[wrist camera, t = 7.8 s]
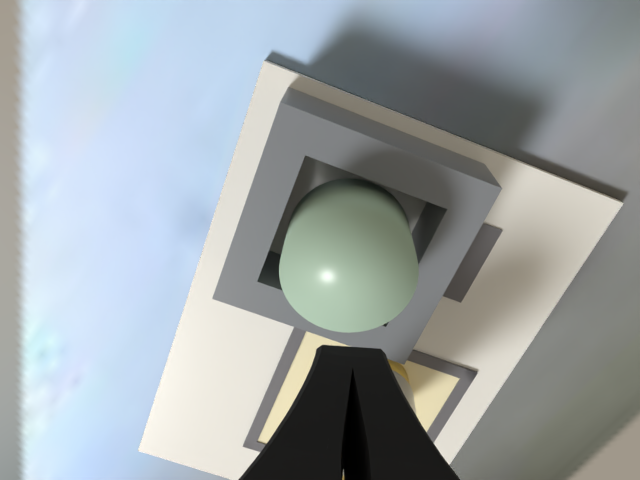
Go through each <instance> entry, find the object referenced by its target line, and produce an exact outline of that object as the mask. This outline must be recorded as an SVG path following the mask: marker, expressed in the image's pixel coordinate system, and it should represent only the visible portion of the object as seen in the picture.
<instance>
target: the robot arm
mask: <svg viewBox="0 0 640 480" xmlns="http://www.w3.org/2000/svg"><path fill="white" fill-rule="evenodd" d="M343 469H344V480H460V479H459V478H458V476H457V475H456V474H455V472H454V471H453V470H452V469H451V467H450V466H449V464H448V463H447V462H446V460H445V459H444V458H443V456H442V455H441V453H440V452H439V450H438V449H437V447H436V446H435V444H434V443H433V442H432V440H431V439H430V437H429V436H428V434H427V432H426V431H425V429H424V428H423V426H422V425H421V423H420V421H419V419H418V418H417V416H416V414H415V413H414V411H413V409H412V408H411V406H410V404H409V402H408V401H407V399H406V397H405V395H404V393H403V391H402V389H401V387H400V386H399V384H398V382H397V380H396V377H395V375H394V373H393V371H392V369H391V367H390V364H389V362H388V359H387V356H386V354H385V353H384V352H383V350H382V349H378V348H363V347H349V346H334V345H321V346H320V347H318V348H317V349H316V353H315V357H314V360H313V363H312V366H311V368H310V370H309V373H308V375H307V377H306V379H305V381H304V383H303V385H302V387H301V389H300V391H299V393H298V395H297V396H296V398H295V400H294V402H293V404H292V405H291V407H290V409H289V411H288V412H287V414H286V415H285V417H284V419H283V420H282V422H281V423H280V425H279V426H278V428H277V429H276V431H275V432H274V434H273V435H272V437H271V438H270V440H269V441H268V443H267V444H266V445H265V447H264V448H263V449H262V451H261V452H260V453H259V455H258V456H257V457H256V459H255V460H254V461H253V462H252V464H251V465H250V466H249V467H248V469H247V470H246V471H245V472H244V474H243V475H242V476H241V477H240V478H239V479H238V480H342V477H343Z"/></svg>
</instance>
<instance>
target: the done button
mask: <svg viewBox="0 0 640 480" xmlns="http://www.w3.org/2000/svg"><path fill="white" fill-rule="evenodd" d="M418 276H419V266H418V260H417V255H416V251H415V247H414V243H413V238H412V234H411V230H410V226H409V222H408V219H407V216H406V213H405V211H404V209H403V207H402V206H401V204H400V203H399V201H398V200H397V199H396V198H395V197H394V196H393V195H392V194H391V193H389V192H388V191H387V190H386V189H384V188H382V187H381V186H379V185H377V184H374V183H372V182H369V181H366V180H361V179H351V178H346V179H337V180H332V181H329V182H326V183H323V184H321V185H319V186H317V187H315V188H314V189H312V190H311V191H309V192H308V193H307V194H306V195H305V196H304V197H303V198H302V199H301V200H300V201H299V203H298V204H297V206H296V207H295V209H294V211H293V213H292V215H291V218H290V221H289V225H288V229H287V233H286V237H285V241H284V246H283V250H282V254H281V258H280V264H279V278H280V284H281V287H282V290H283V292H284V295H285V297H286V299H287V300H288V302H289V303H290V305H291V306H292V307H293V308H294V309H295V311H296V312H298V313H299V314H300V315H301V316H302V317H303V318H305V319H306V320H308V321H309V322H311V323H313V324H315V325H317V326H319V327H322V328H324V329H328V330H331V331H337V332H347V333H351V332H362V331H367V330H371V329H374V328H377V327H379V326H382V325H384V324H385V323H387V322H389V321H391V320H392V319H393V318H395V317H396V316H397V315H398V314H400V313H401V312H402V311H403V310H404V308H405V307H406V306H407V305H408V303H409V302H410V300H411V299H412V297H413V295H414V292H415V290H416V286H417V283H418Z"/></svg>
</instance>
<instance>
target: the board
mask: <svg viewBox="0 0 640 480" xmlns="http://www.w3.org/2000/svg"><path fill="white" fill-rule="evenodd" d="M288 87H290V88H293V89H295V90H298V91H301V92H303V93H306V94H308V95H311V96H313V97H316V98H318V99H321V100H323V101H326V102H328V103H331V104H334V105H336V106H339V107H341V108H344V109H346V110H349V111H351V112H354V113H356V114H359V115H362V116H364V117H367V118H369V119H372V120H374V121H377V122H379V123H382V124H384V125H387V126H390V127H392V128H395V129H397V130H400V131H402V132H405V133H407V134H410V135H412V136H415V137H418V138H420V139H423V140H425V141H428V142H430V143H433V144H435V145H438V146H440V147H443V148H446V149H448V150H451V151H453V152H456V153H458V154H461V155H463V156H466V157H468V158H471V159H474V160H476V161H479V162H481V163H484V164H485V165H486V166H487V168H488V169H489V171H490V172H491V173H492V175H493V176H494V178H495V179H496V180H497V182H498V183H499V185H500V186H501V187H502V190H501V192H500V193H499V195H498V197H497V199H496V201H495V202H494V204H493V206H492V208H491V210H490V211H489V213H488V215H487V217H486V219H485V220H484V222H483V224H482V226H481V228H480V229H479V231H478V233H477V235H476V237H475V238H474V240H473V242H472V244H471V246H470V247H469V249H468V251H467V253H466V255H465V256H464V258H463V260H462V262H461V264H460V265H459V267H458V269H457V271H456V273H455V274H454V276H453V278H452V280H451V282H450V283H449V285H448V287H447V289H446V291H445V292H444V294H443V296H442V298H441V300H440V301H439V303H438V305H437V307H436V309H435V310H434V312H433V314H432V316H431V318H430V319H429V321H428V323H427V325H426V327H425V328H424V330H423V332H422V334H421V336H420V337H419V339H418V341H417V343H416V345H415V346H414V348H413V350H412V352H411V354H410V355H409V357H408V359H407V361H406V363H405V364H404V365H403V364H401V365H402V366H403V367H404V369H405V370H406V372H407V375H408V378H409V385H410V386H411V388H412V391H413V395H414V401H415V408H416V415H417V418H418V419H419V421H420V423H421V425H422V426H423V428H424V429H425V431H426V432H427V434H428V436H429V437H430V439H431V440H432V442H433V443H434V444H435V446H436V447H437V449H438V450H439V452H440V453H441V455H442V456H443V458H444V459H445V460H446V462H447V463H448V464H449V465H450V463H451V462H452V460H453V459H454V457H455V456H456V454H457V453H458V451H459V450H460V448H461V447H462V445H463V444H464V442H465V441H466V439H467V438H468V436H469V435H470V433H471V432H472V430H473V429H474V427H475V426H476V424H477V423H478V421H479V420H480V418H481V417H482V415H483V414H484V412H485V411H486V409H487V408H488V406H489V405H490V403H491V402H492V400H493V399H494V397H495V396H496V394H497V393H498V391H499V390H500V388H501V387H502V385H503V384H504V382H505V381H506V379H507V378H508V376H509V375H510V373H511V372H512V370H513V369H514V367H515V366H516V364H517V363H518V361H519V360H520V358H521V357H522V355H523V354H524V352H525V351H526V349H527V348H528V346H529V345H530V343H531V342H532V340H533V339H534V337H535V336H536V334H537V333H538V331H539V330H540V328H541V327H542V325H543V324H544V322H545V321H546V319H547V318H548V316H549V315H550V313H551V312H552V310H553V309H554V307H555V306H556V304H557V303H558V301H559V300H560V298H561V296H562V295H563V293H564V292H565V290H566V289H567V287H568V286H569V284H570V283H571V281H572V280H573V278H574V277H575V275H576V274H577V272H578V271H579V269H580V268H581V266H582V265H583V263H584V262H585V260H586V259H587V257H588V256H589V254H590V253H591V251H592V250H593V248H594V247H595V245H596V244H597V242H598V241H599V239H600V238H601V236H602V235H603V233H604V232H605V230H606V229H607V227H608V226H609V224H610V223H611V221H612V220H613V218H614V217H615V215H616V214H617V212H618V211H619V209H620V208H621V206H622V205H623V203H622V202H621V201H620V200H618V199H615V198H613V197H610V196H608V195H605V194H603V193H600V192H597V191H595V190H592V189H590V188H587V187H585V186H582V185H580V184H577V183H575V182H572V181H570V180H567V179H565V178H562V177H560V176H557V175H555V174H552V173H550V172H547V171H545V170H542V169H540V168H537V167H534V166H532V165H529V164H527V163H524V162H522V161H519V160H517V159H514V158H512V157H509V156H507V155H504V154H502V153H499V152H497V151H494V150H492V149H489V148H487V147H484V146H482V145H479V144H476V143H474V142H471V141H469V140H466V139H464V138H461V137H459V136H456V135H454V134H451V133H449V132H446V131H444V130H441V129H439V128H436V127H434V126H431V125H429V124H426V123H424V122H421V121H419V120H416V119H413V118H411V117H408V116H406V115H403V114H401V113H398V112H396V111H393V110H391V109H388V108H386V107H383V106H381V105H378V104H376V103H373V102H371V101H368V100H366V99H363V98H361V97H358V96H356V95H353V94H350V93H348V92H345V91H343V90H340V89H338V88H335V87H333V86H330V85H328V84H325V83H323V82H320V81H318V80H315V79H313V78H310V77H308V76H305V75H303V74H300V73H298V72H295V71H293V70H290V69H287V68H285V67H282V66H280V65H277V64H275V63H272V62H270V61H267V60H264V61H263V64H262V67H261V71H260V74H259V77H258V80H257V83H256V86H255V89H254V92H253V95H252V98H251V102H250V105H249V108H248V111H247V114H246V117H245V120H244V123H243V126H242V130H241V133H240V136H239V139H238V142H237V145H236V148H235V151H234V154H233V157H232V161H231V164H230V167H229V170H228V173H227V176H226V179H225V182H224V185H223V188H222V192H221V195H220V198H219V201H218V204H217V207H216V210H215V213H214V216H213V219H212V223H211V226H210V229H209V232H208V235H207V238H206V241H205V244H204V247H203V251H202V254H201V257H200V260H199V263H198V266H197V269H196V272H195V275H194V278H193V282H192V285H191V288H190V291H189V294H188V297H187V300H186V303H185V306H184V309H183V313H182V316H181V319H180V322H179V325H178V328H177V331H176V334H175V337H174V341H173V344H172V347H171V350H170V353H169V356H168V359H167V362H166V365H165V368H164V372H163V375H162V378H161V381H160V384H159V387H158V390H157V393H156V396H155V399H154V403H153V406H152V409H151V412H150V415H149V418H148V421H147V424H146V427H145V430H144V434H143V437H142V440H141V443H140V446H139V449H138V451H140V452H143V453H147V454H150V455H153V456H156V457H160V458H163V459H166V460H169V461H173V462H176V463H179V464H182V465H186V466H189V467H192V468H195V469H199V470H202V471H205V472H208V473H212V474H215V475H218V476H221V477H225V478H228V479H231V480H238V479H239V478H240V477H241V476H242V475H243V474H244V472H245V471H246V470H247V469H248V467H249V466H250V465H251V464H252V462H253V461H254V460H255V459H256V457H257V456H258V455H259V453H260V452H261V451H262V449H263V448H264V447H265V445H266V444H267V443H268V441H269V440H270V438H271V437H272V435H273V434H274V432H275V431H276V429H277V428H278V426H279V425H280V423H281V422H282V420H283V419H284V417H285V415H286V414H287V412H288V411H289V409H290V407H291V405H292V404H293V402H294V400H295V398H296V396H297V395H298V393H299V391H300V389H301V387H302V385H303V383H304V381H305V379H306V377H307V375H308V373H309V370H310V368H311V366H312V363H313V360H314V357H315V353H316V349H317V348H318V347H320V346H321V345H334V346H348V345H345V344H342V343H339V342H336V341H333V340H330V339H328V338H325V337H322V336H319V335H316V334H313V333H310V332H307V331H304V330H301V329H298V328H296V327H293V326H290V325H287V324H284V323H281V322H278V321H275V320H272V319H269V318H266V317H264V316H261V315H258V314H255V313H252V312H249V311H246V310H243V309H240V308H237V307H234V306H231V305H229V304H226V303H223V302H220V301H217V300H214V299H212V298H213V295H214V292H215V289H216V286H217V283H218V280H219V277H220V274H221V272H222V269H223V266H224V263H225V260H226V257H227V254H228V251H229V248H230V245H231V243H232V240H233V237H234V234H235V231H236V228H237V225H238V222H239V219H240V217H241V214H242V211H243V208H244V205H245V202H246V199H247V196H248V193H249V190H250V188H251V185H252V182H253V179H254V176H255V173H256V170H257V167H258V164H259V162H260V159H261V156H262V153H263V150H264V147H265V144H266V141H267V138H268V135H269V133H270V130H271V127H272V124H273V121H274V118H275V115H276V112H277V109H278V106H279V104H280V101H281V99H282V98H283V96H284V94H285V92H286V90H287V88H288ZM346 178H351V179H361V180H366V181H369V182H372V183H374V184H377V185H379V186H381V187H382V188H384V189H386V190H387V191H388V192H389V193H391V194H392V195H393V196H394V197H395V198H396V199H397V200H398V201H399V203H400V204H401V206H402V207H403V209H404V211H405V213H406V216H407V219H408V222H409V226H410V230H411V233H412V231H413V229H414V227H415V225H416V223H417V221H418V219H419V217H420V215H421V213H422V211H423V209H424V207H425V205H426V203H427V201H424V200H422V199H419V198H416V197H414V196H411V195H408V194H406V193H403V192H401V191H398V190H395V189H393V188H390V187H387V186H385V185H382V184H380V183H377V182H374V181H372V180H369V179H366V178H364V177H361V176H358V175H356V174H353V173H351V172H348V171H345V170H343V169H340V168H337V167H335V166H332V165H330V164H327V163H324V162H322V161H319V160H316V159H314V158H311V157H308V156H306V155H305V157H304V160H303V162H302V165H301V168H300V170H299V173H298V176H297V178H296V181H295V183H294V186H293V189H292V191H291V194H290V197H289V199H288V202H287V204H286V207H285V210H284V212H283V215H282V218H281V220H280V223H279V225H278V228H277V231H276V233H275V236H274V239H273V241H272V244H271V247H270V249H269V250H270V251H272V252H275V253H278V254H282V250H283V246H284V241H285V237H286V233H287V229H288V225H289V221H290V218H291V215H292V213H293V211H294V209H295V207H296V206H297V204H298V203H299V201H300V200H301V199H302V198H303V197H304V196H305V195H306V194H307V193H308V192H309V191H311V190H312V189H314V188H315V187H317V186H319V185H321V184H323V183H326V182H329V181H332V180H337V179H346ZM349 347H351V346H349Z"/></svg>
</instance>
